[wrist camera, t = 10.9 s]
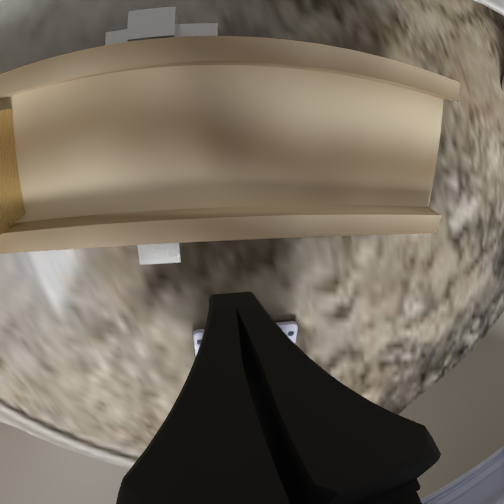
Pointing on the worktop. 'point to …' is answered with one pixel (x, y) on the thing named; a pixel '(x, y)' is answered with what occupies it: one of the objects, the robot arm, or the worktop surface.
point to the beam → (221, 143)
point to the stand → (152, 27)
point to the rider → (9, 174)
